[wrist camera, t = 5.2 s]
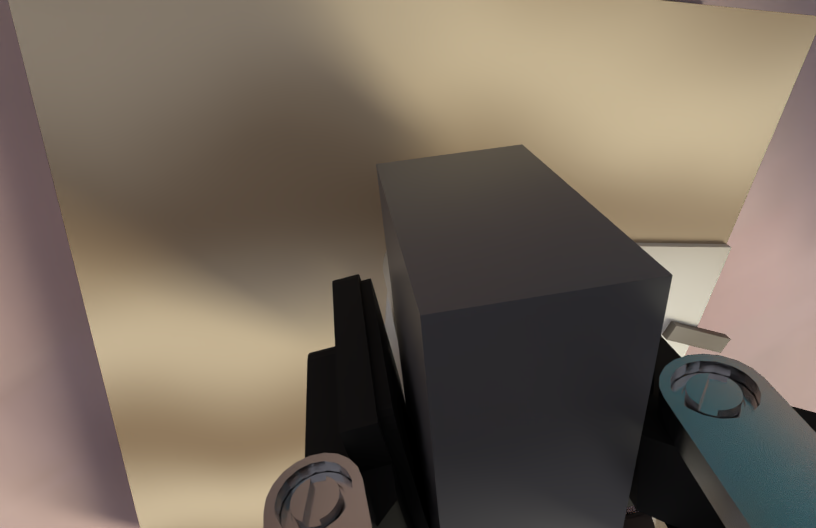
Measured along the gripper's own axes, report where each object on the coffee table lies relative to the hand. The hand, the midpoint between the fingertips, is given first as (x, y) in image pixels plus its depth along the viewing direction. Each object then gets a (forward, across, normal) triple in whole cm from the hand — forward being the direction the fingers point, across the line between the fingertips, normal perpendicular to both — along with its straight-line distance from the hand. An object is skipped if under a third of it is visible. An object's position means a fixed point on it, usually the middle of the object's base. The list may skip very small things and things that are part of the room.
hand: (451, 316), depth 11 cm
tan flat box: (+6, +1, +5) cm, 8 cm away
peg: (+2, 0, +3) cm, 4 cm away
